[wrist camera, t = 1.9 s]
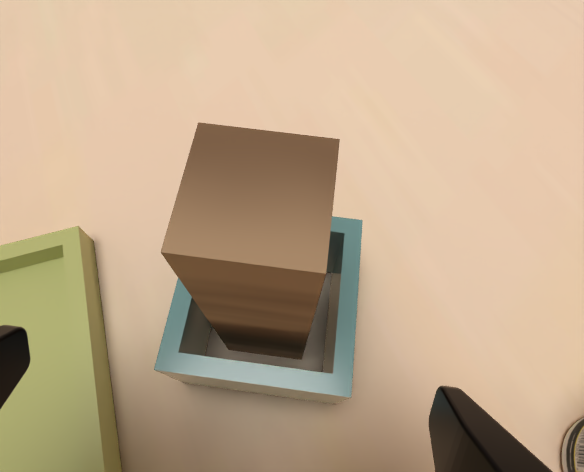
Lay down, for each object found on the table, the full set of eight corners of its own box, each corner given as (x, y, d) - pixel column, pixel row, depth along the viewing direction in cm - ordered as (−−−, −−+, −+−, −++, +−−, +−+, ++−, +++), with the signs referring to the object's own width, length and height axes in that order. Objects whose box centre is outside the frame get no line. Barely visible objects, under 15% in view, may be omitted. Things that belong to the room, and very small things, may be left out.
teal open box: (335, 404, 18) (351, 397, 14) (183, 382, 19) (153, 369, 14) (346, 262, 21) (362, 220, 17) (215, 245, 22) (198, 199, 17)
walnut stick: (301, 359, 19) (326, 274, 8) (228, 349, 19) (160, 252, 9) (309, 289, 21) (339, 139, 10) (241, 280, 21) (198, 122, 10)
